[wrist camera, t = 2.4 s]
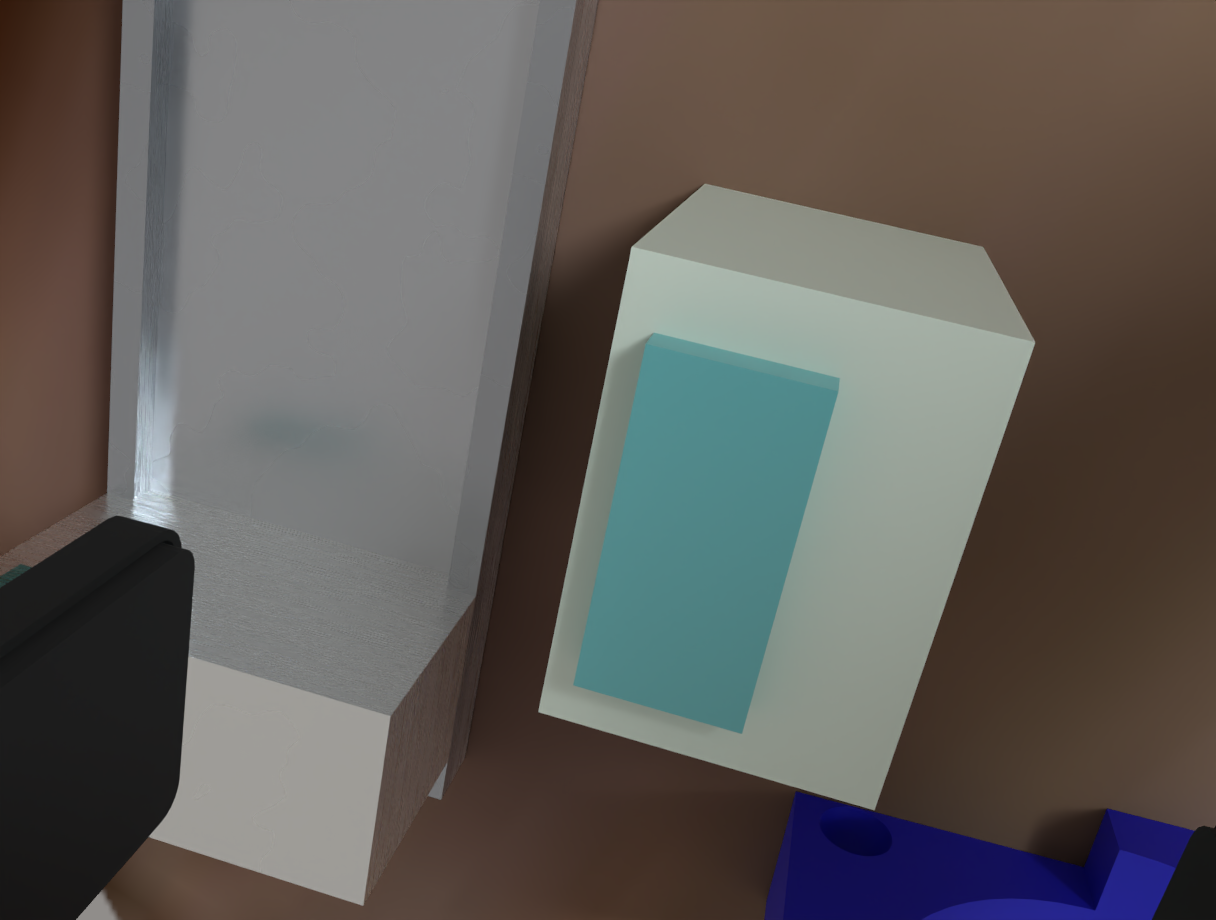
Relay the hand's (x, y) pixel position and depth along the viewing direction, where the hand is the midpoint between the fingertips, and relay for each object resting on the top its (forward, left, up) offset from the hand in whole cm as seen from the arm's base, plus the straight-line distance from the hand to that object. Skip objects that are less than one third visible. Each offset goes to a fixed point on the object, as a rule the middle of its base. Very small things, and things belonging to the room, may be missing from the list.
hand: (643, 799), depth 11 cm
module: (-1, 0, -12) cm, 12 cm away
